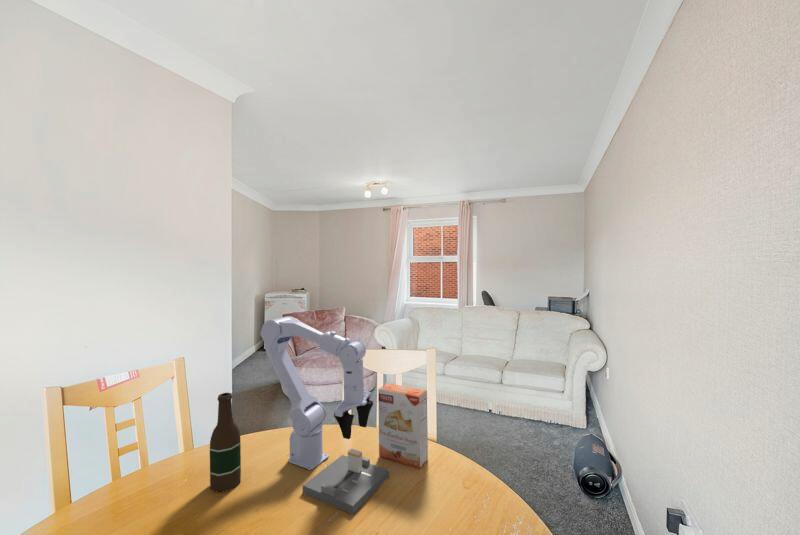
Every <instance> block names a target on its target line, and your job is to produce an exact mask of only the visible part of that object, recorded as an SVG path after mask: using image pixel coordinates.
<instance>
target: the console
mask: <svg viewBox="0 0 800 535" xmlns="http://www.w3.org/2000/svg"><path fill="white" fill-rule="evenodd" d="M389 472H390V471H389V469H387V468H384V467H381V466H377V465H374V464H371V459H370V458H367V457H364V456H362V471H361V472H360V473H356V472H353V471H351V470H348V455H344V454H342V455H340V456H339V457H338V458H337V459H335V460H334V461H333V462H331V463H330V464H329V465H327V466H326V467H325V468H324V469H322V470H321V471H320V472H318V473H317V474H315V475H314V476H313V477H311V478H310V479H309V480H307V481H306V482H305V483H303V484H302V494H303V495H306V496H309V497H311V498H313V499H315V500H318V501H319V502H323V503H325V504H327V505H330V506H331V507H334V508H336V509H339V510H342V511H343V512H346V513H348V514H350V515H354V514H355V513H357V511H358V510H359V509H360V508H361V507H362V506H363V505H364V504H365V502H367V501H368V500H369V499H370V497H372V496H373V495H374V494H375V492H376V491H377V490H378V489H379V488H381V486H382V485H383V484H384V483H385V482H386V481H387V479H389V478H390V477H389V475H390V473H389Z"/></svg>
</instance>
